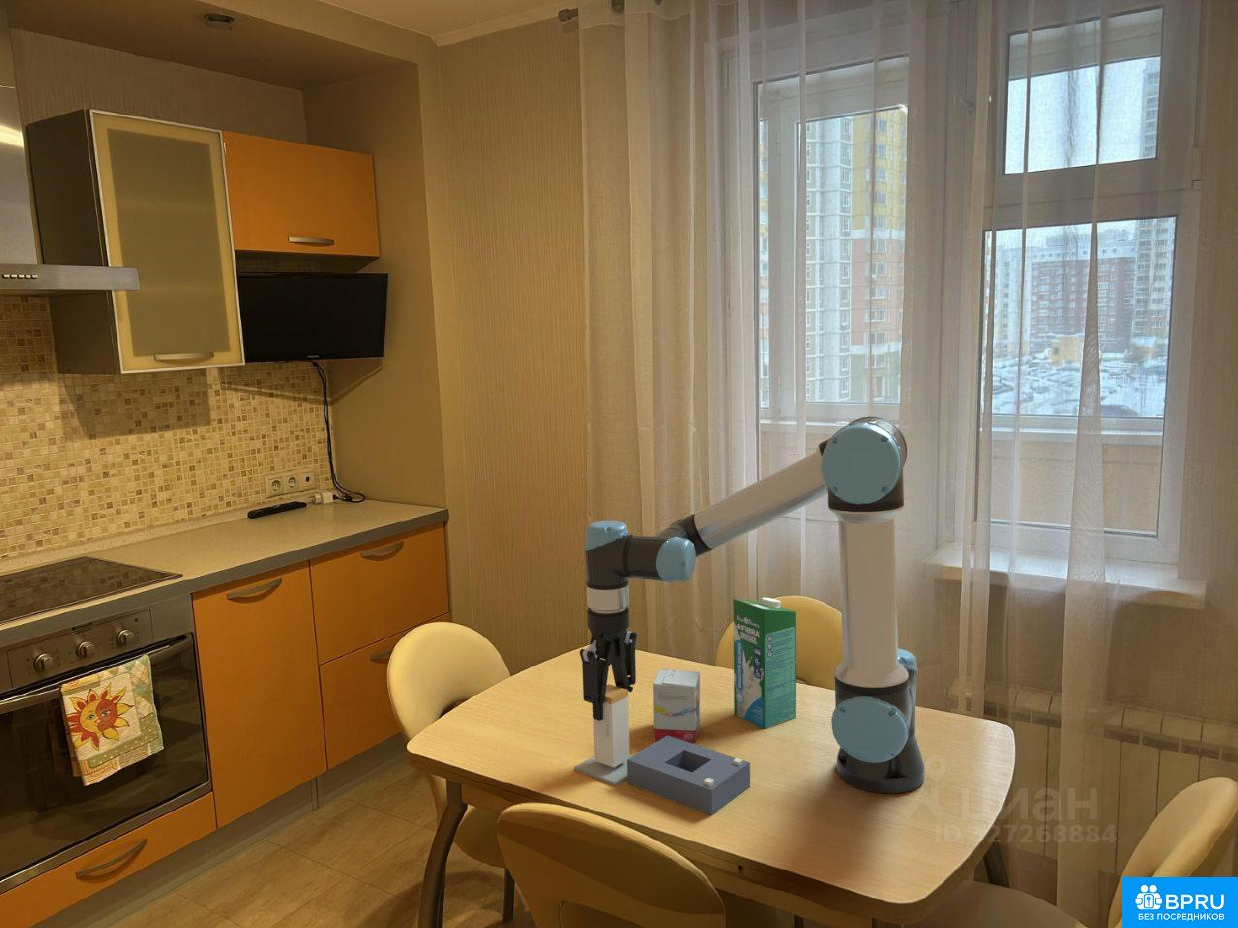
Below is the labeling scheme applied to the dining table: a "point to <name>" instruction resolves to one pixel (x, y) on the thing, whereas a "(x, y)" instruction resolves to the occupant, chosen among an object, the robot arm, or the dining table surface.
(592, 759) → the mat
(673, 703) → the ink box
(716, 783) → the grey square-hole block
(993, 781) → the dining table surface
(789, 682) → the milk carton
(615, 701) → the plug
